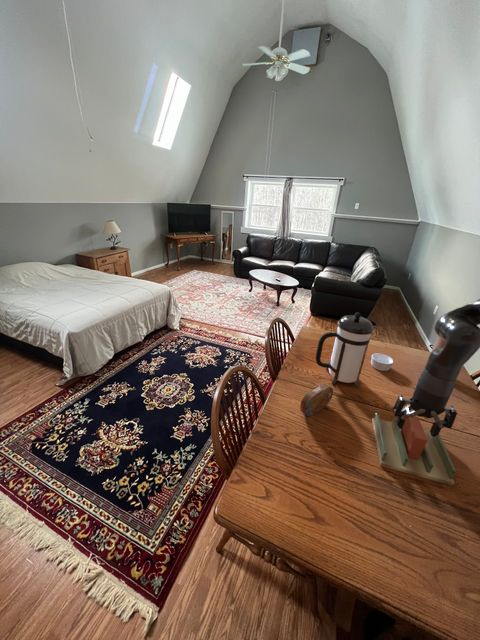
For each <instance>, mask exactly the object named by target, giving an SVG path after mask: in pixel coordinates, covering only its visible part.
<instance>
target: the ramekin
mask: <svg viewBox="0 0 480 640" xmlns="http://www.w3.org/2000/svg"><path fill="white" fill-rule="evenodd" d="M393 363H394V359H393V358H392V357H390V356H389V355H387V354H384V353H380V352H378V353H377V352H376V353H373V354H371V360H370V365H371V367H372V368H373V369H376V370H377V371H381V372H387V371H389V370H390V369H391V367H392V365H393Z"/></svg>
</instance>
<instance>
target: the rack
mask: <svg viewBox="0 0 480 640" xmlns="http://www.w3.org/2000/svg"><path fill="white" fill-rule="evenodd" d="M397 418H398V417H393V418H392V420H391V421H388V420H385V419H384V420H383V419H380V415H379V413H377V412H376V413H375V415H374V417H372V419H371V423H372V428H373V434H374V435H373V436H374V440H375V444H376V450H377V456H378V461H379V466H380V467H384V468H387V469H390V470H394V471H398V472H401V473H404V474H409V475H411V476H416V477H419V478H423V479H426V480H430V481H434V482H436V483H437V482H438V483H441V484H444V485H449V486H451V487H452V486H454V485H455V484H456V483H455V479H454V477H455V476H456V474H457V469H456V467H455V465H454V463H453V460H452V458H451V457H450V454H449V452H448V450H447V447H446V445H445V443H444V441H443V439H442V437H441V435H440V434H439V435H436V436H435V437H433V436H431V433H430V430H427V429H423V430H424V433H425V435H426V438H427V440H428V441H427V443H426V445H425V447H424V449H423V451H422V453H421V455H420V458H419V460H415V459H411V458H408V455H407V452H406V449H405V445H404V442H403V439H402V435H401V429H399V427H398V426H397V423H396V421H397Z"/></svg>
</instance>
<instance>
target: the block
mask: <svg viewBox="0 0 480 640" xmlns="http://www.w3.org/2000/svg"><path fill="white" fill-rule="evenodd" d="M424 430H425V429H424V427H423V425H422V423H421V421H420V418H419V416H414V417H412V418H411V417H409V418H407V419H405V423H404V425H403V428H402V429H401V435H402V439H403V442H404V445H405V449H406V452H407V455H408V458H411V459H415V460H419V458H420V455H421V453H422V451H423V449H424V447H425V445H426V443H427V441H428V440H427V438H426V435H425V433H424Z"/></svg>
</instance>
